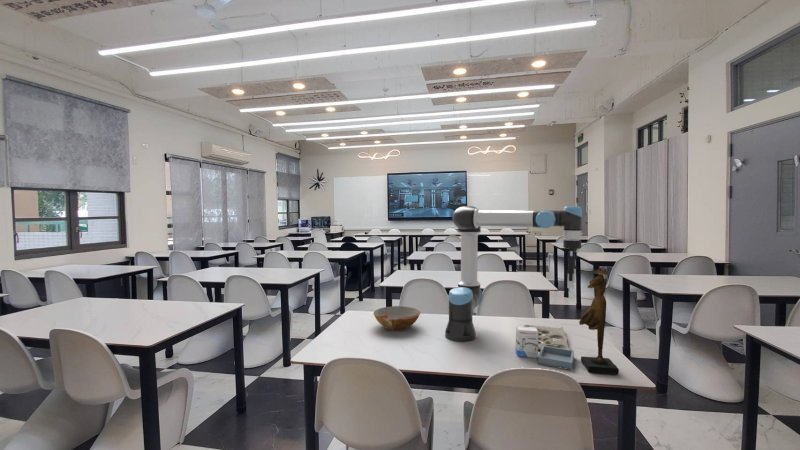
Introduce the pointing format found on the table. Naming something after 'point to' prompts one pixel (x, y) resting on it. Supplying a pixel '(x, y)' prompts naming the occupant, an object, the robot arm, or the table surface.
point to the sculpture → (598, 326)
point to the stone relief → (551, 333)
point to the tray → (556, 357)
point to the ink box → (526, 341)
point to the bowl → (396, 317)
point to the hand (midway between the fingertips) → (571, 285)
